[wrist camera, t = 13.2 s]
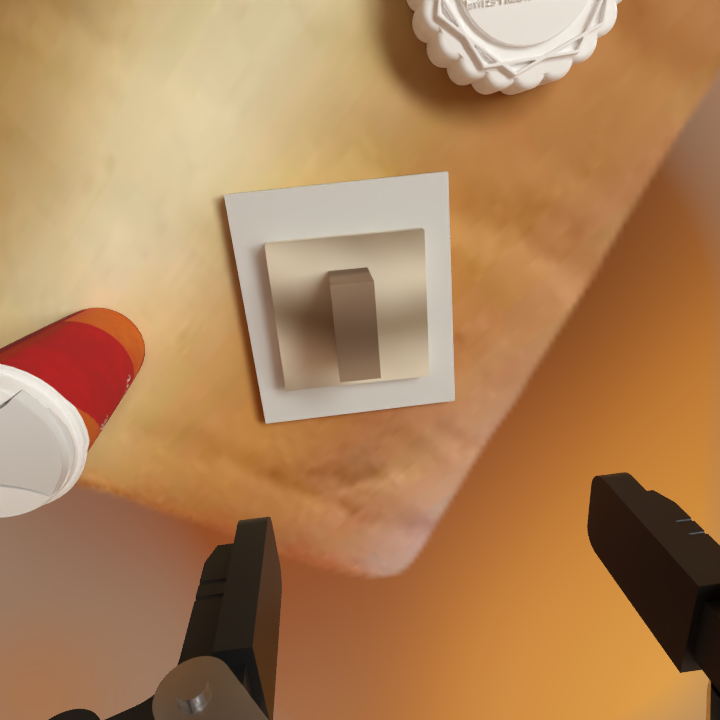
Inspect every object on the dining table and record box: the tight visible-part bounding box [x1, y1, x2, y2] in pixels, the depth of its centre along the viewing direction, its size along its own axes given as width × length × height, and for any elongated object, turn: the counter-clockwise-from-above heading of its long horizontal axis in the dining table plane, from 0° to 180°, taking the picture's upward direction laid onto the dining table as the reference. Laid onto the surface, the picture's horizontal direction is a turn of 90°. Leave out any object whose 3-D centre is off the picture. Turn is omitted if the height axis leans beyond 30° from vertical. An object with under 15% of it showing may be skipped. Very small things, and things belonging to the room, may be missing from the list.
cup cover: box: [265, 227, 429, 391], centre depth 33 cm, size 10×10×5 cm
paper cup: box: [0, 308, 145, 517], centre depth 29 cm, size 8×8×14 cm
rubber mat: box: [224, 171, 455, 424], centre depth 35 cm, size 16×14×1 cm
